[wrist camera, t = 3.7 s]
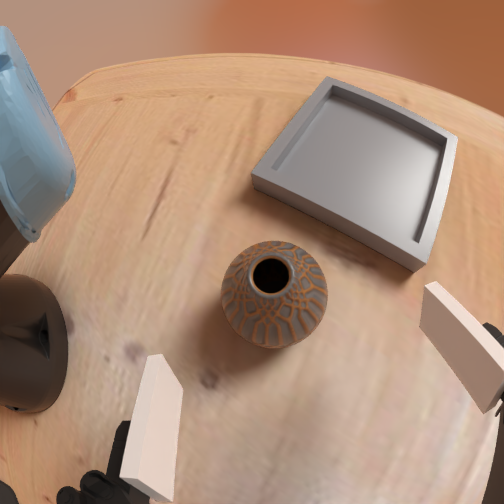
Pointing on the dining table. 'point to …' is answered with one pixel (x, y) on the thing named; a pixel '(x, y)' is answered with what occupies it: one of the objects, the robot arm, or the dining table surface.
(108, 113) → the dining table surface
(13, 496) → the phone
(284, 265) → the vase
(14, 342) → the robot arm
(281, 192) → the tray
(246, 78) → the dining table surface
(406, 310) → the dining table surface
